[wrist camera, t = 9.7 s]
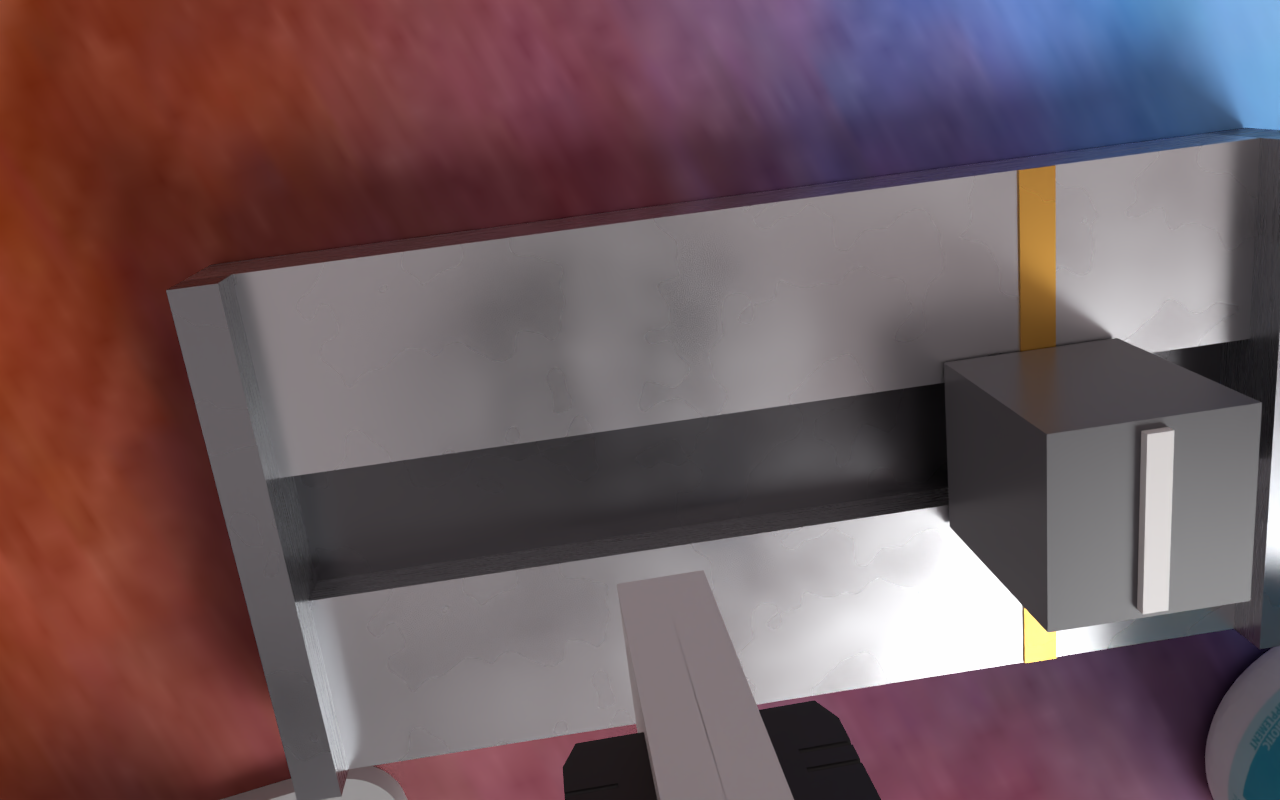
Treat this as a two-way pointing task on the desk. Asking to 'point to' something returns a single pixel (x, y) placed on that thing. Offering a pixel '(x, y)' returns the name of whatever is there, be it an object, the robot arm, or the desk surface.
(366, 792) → the phone holder
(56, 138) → the desk surface
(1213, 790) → the pill bottle
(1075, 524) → the block
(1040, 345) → the console
